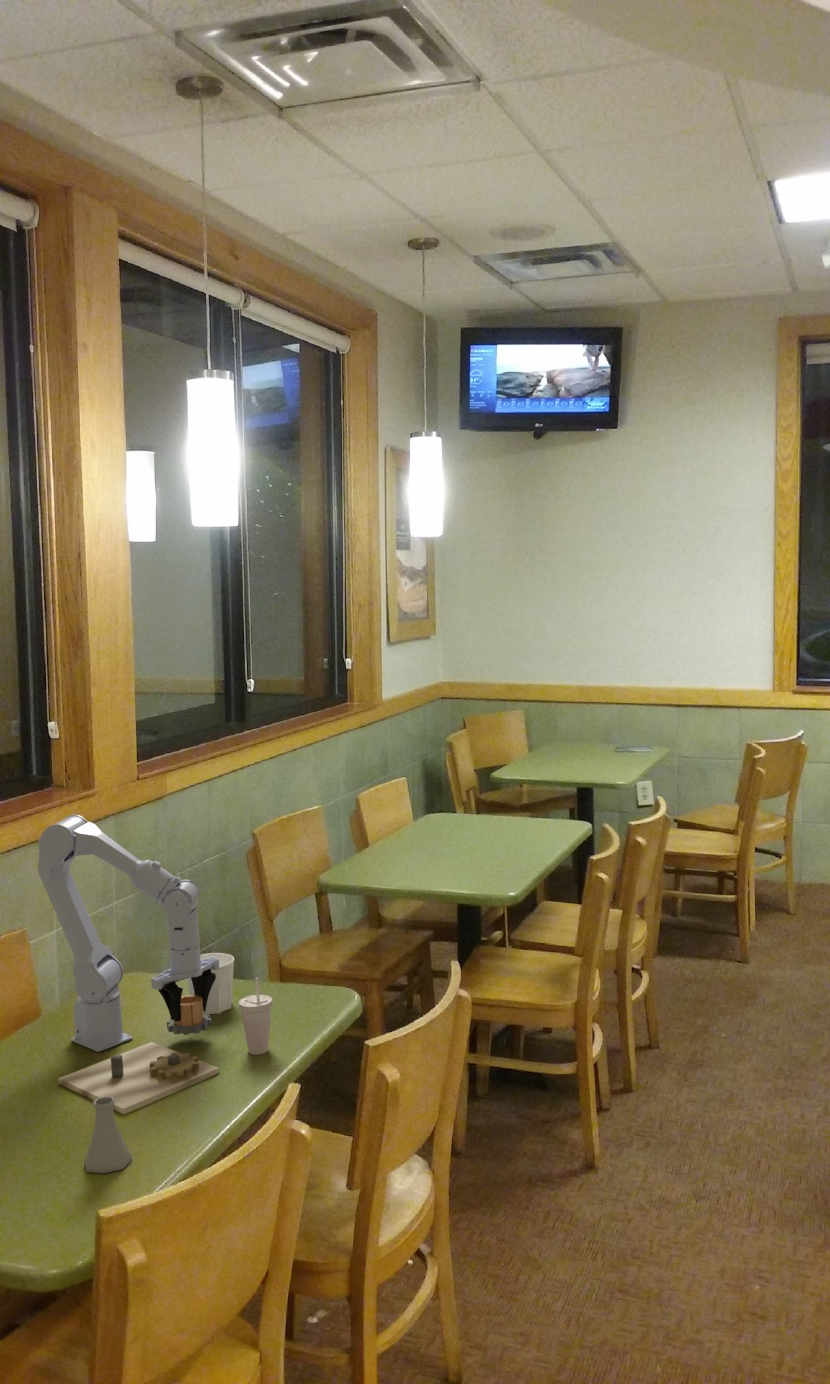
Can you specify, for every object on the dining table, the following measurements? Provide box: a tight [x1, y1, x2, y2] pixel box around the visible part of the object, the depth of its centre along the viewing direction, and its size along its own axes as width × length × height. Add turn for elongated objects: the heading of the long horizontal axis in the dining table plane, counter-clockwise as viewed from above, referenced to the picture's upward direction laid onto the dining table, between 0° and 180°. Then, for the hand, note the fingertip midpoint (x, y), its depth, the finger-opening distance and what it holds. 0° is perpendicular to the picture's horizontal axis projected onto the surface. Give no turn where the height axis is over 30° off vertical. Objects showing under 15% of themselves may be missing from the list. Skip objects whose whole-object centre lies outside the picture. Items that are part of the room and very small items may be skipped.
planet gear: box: [166, 994, 212, 1036], centre depth 226 cm, size 8×8×5 cm
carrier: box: [57, 1041, 220, 1115], centre depth 211 cm, size 20×20×4 cm
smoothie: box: [238, 977, 274, 1056], centre depth 221 cm, size 6×6×14 cm
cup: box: [187, 952, 235, 1015], centre depth 244 cm, size 10×10×10 cm
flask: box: [83, 1096, 133, 1174], centre depth 181 cm, size 7×7×10 cm
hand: (188, 1015), depth 227 cm, fingers closed on planet gear, 5 cm apart
